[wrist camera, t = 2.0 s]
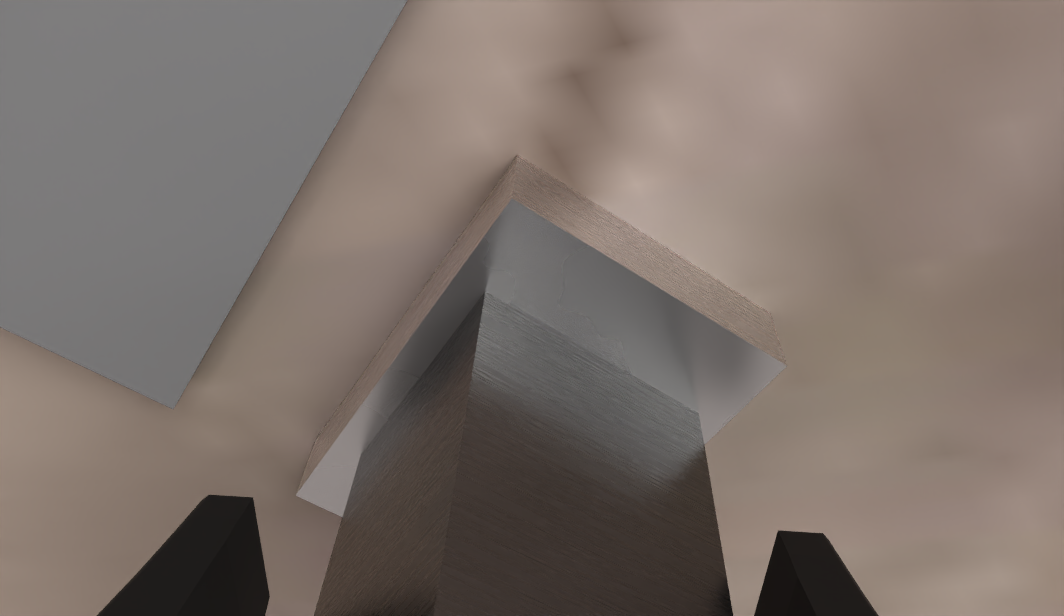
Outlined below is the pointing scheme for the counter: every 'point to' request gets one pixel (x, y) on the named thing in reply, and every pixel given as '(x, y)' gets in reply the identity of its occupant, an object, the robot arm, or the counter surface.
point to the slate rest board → (159, 164)
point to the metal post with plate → (541, 425)
